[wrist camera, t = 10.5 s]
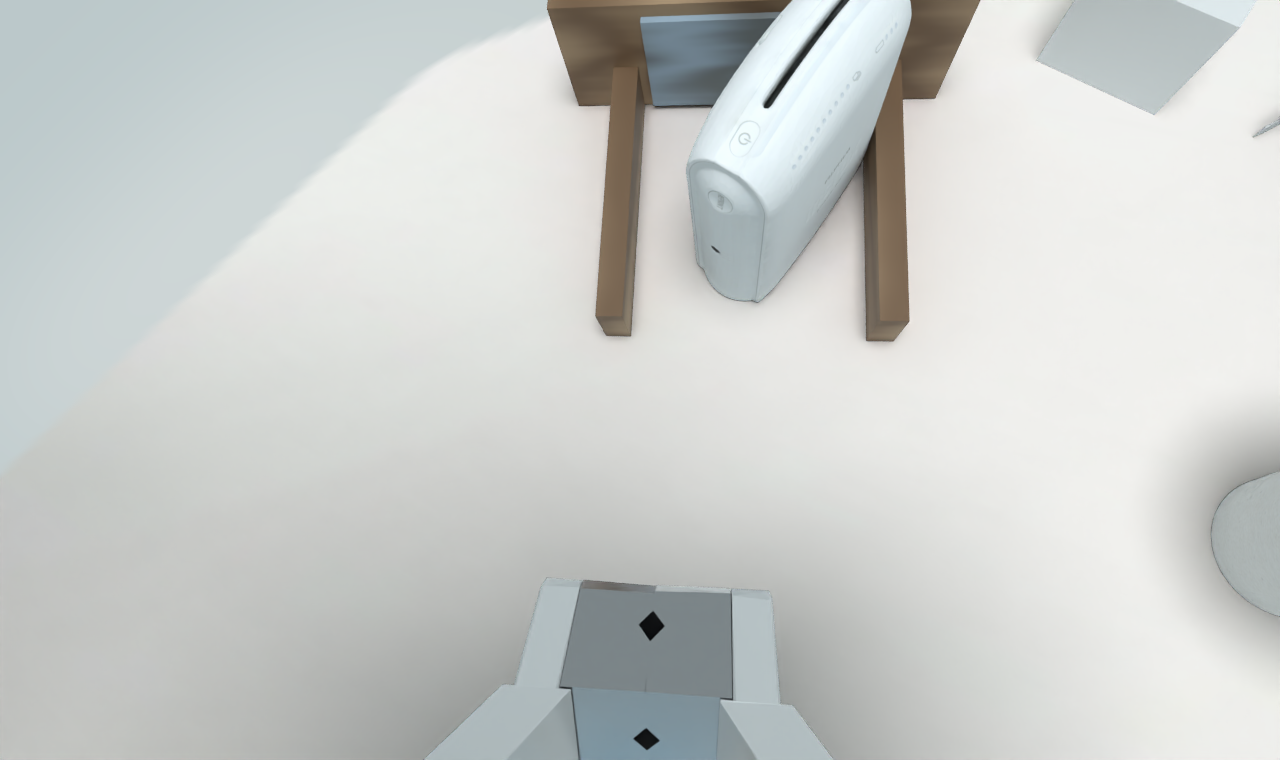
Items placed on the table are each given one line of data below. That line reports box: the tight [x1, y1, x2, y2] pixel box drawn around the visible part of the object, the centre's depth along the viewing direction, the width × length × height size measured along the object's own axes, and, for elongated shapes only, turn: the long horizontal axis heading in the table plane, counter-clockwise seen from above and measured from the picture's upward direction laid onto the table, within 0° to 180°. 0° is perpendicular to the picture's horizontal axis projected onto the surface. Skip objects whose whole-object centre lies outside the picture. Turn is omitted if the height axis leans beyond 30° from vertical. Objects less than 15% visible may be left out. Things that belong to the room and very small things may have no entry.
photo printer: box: [686, 0, 912, 302], centre depth 29 cm, size 10×4×12 cm, turn 144°
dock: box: [547, 0, 980, 341], centre depth 32 cm, size 18×14×7 cm
